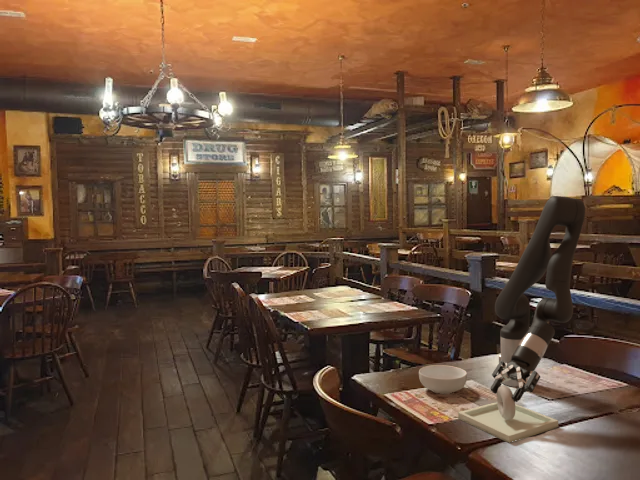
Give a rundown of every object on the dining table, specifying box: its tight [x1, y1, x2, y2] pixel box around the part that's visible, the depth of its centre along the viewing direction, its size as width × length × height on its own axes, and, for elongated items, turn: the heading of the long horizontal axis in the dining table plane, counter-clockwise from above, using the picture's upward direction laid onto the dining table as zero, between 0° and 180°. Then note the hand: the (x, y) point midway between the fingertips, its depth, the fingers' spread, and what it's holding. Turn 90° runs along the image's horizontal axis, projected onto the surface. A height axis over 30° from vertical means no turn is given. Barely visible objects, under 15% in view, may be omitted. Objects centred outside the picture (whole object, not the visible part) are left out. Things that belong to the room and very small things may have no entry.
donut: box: [496, 384, 516, 420], centre depth 153 cm, size 10×4×10 cm, turn 177°
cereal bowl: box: [418, 364, 468, 395], centre depth 183 cm, size 17×17×7 cm
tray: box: [457, 401, 559, 444], centre depth 153 cm, size 20×20×2 cm
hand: (503, 396), depth 152 cm, fingers closed on donut, 7 cm apart
